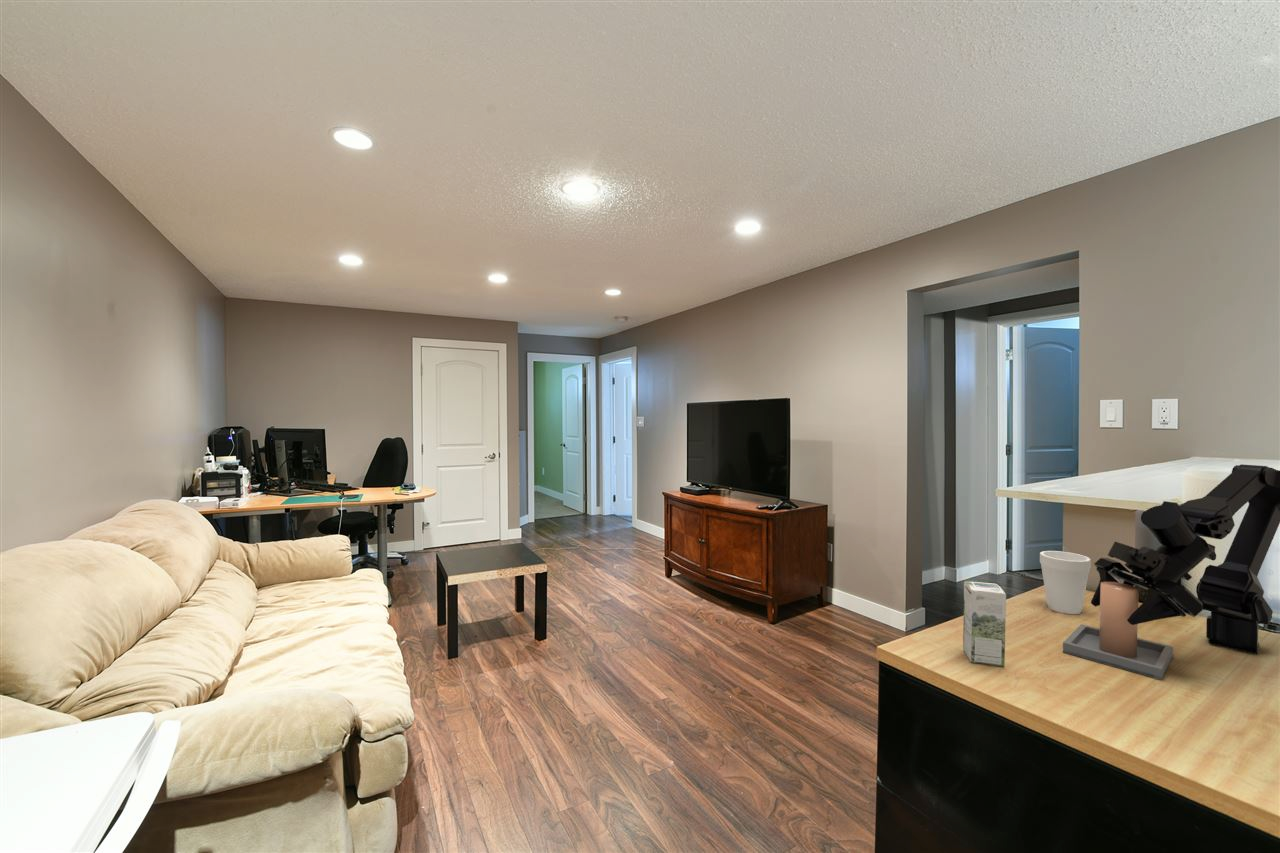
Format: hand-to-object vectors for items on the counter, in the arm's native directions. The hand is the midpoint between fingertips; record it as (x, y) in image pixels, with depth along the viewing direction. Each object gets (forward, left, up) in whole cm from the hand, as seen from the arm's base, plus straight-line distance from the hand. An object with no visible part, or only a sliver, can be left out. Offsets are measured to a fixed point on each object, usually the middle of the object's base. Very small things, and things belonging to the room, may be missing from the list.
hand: (1110, 613), depth 103 cm
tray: (-1, -1, -8) cm, 8 cm away
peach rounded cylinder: (-1, -1, -8) cm, 8 cm away
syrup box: (+15, +21, -8) cm, 27 cm away
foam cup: (+12, -22, -8) cm, 26 cm away
